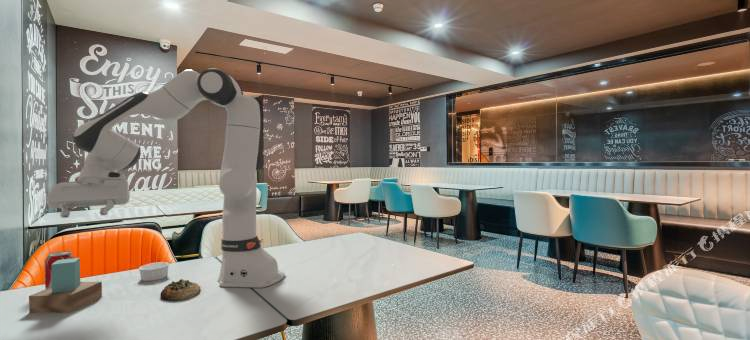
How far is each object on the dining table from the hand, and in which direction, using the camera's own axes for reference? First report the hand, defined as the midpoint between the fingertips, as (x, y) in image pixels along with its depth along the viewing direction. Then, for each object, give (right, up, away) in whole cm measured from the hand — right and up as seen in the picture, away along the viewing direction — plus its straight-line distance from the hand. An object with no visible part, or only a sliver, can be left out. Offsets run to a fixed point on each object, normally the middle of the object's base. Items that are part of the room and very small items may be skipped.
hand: (84, 215), depth 103 cm
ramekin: (+9, -25, +19) cm, 32 cm away
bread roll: (+28, -25, +3) cm, 38 cm away
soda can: (-13, -25, +7) cm, 29 cm away
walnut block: (-1, -25, -4) cm, 26 cm away
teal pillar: (-1, -20, -5) cm, 21 cm away
